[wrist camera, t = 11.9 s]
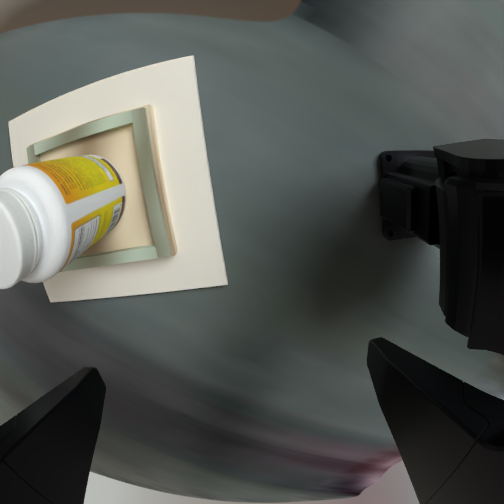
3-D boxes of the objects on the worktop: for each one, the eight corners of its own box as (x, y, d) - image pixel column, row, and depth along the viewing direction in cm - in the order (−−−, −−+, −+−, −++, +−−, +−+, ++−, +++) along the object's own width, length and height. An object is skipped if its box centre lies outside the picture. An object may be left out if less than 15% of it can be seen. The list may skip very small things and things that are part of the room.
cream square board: (194, 57, 16) (193, 55, 16) (227, 281, 22) (227, 284, 21) (12, 121, 17) (8, 121, 16) (53, 299, 22) (50, 302, 22)
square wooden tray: (153, 106, 17) (145, 103, 16) (177, 250, 20) (173, 259, 19) (36, 144, 17) (24, 146, 16) (63, 267, 21) (54, 275, 19)
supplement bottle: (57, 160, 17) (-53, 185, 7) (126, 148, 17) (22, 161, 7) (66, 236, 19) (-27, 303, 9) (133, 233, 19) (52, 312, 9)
